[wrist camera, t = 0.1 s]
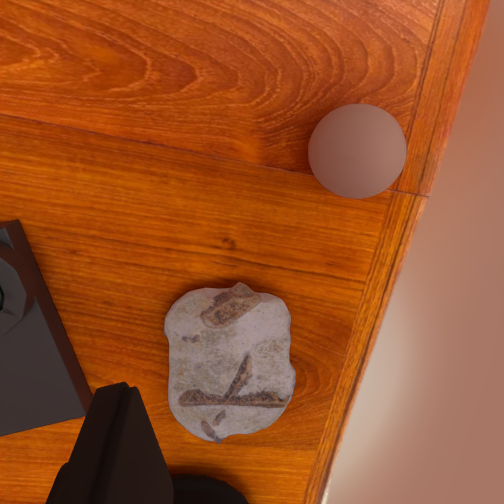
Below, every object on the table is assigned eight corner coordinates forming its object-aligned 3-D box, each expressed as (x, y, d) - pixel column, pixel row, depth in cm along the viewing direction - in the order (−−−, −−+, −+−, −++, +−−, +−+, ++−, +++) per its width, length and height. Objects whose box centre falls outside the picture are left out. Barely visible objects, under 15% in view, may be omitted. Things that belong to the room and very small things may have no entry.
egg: (352, 199, 28) (396, 228, 22) (284, 166, 27) (308, 186, 20) (392, 126, 27) (451, 133, 20) (322, 87, 25) (362, 83, 19)
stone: (293, 411, 33) (302, 442, 30) (176, 427, 33) (174, 461, 30) (285, 271, 29) (295, 291, 26) (152, 286, 29) (146, 309, 25)
